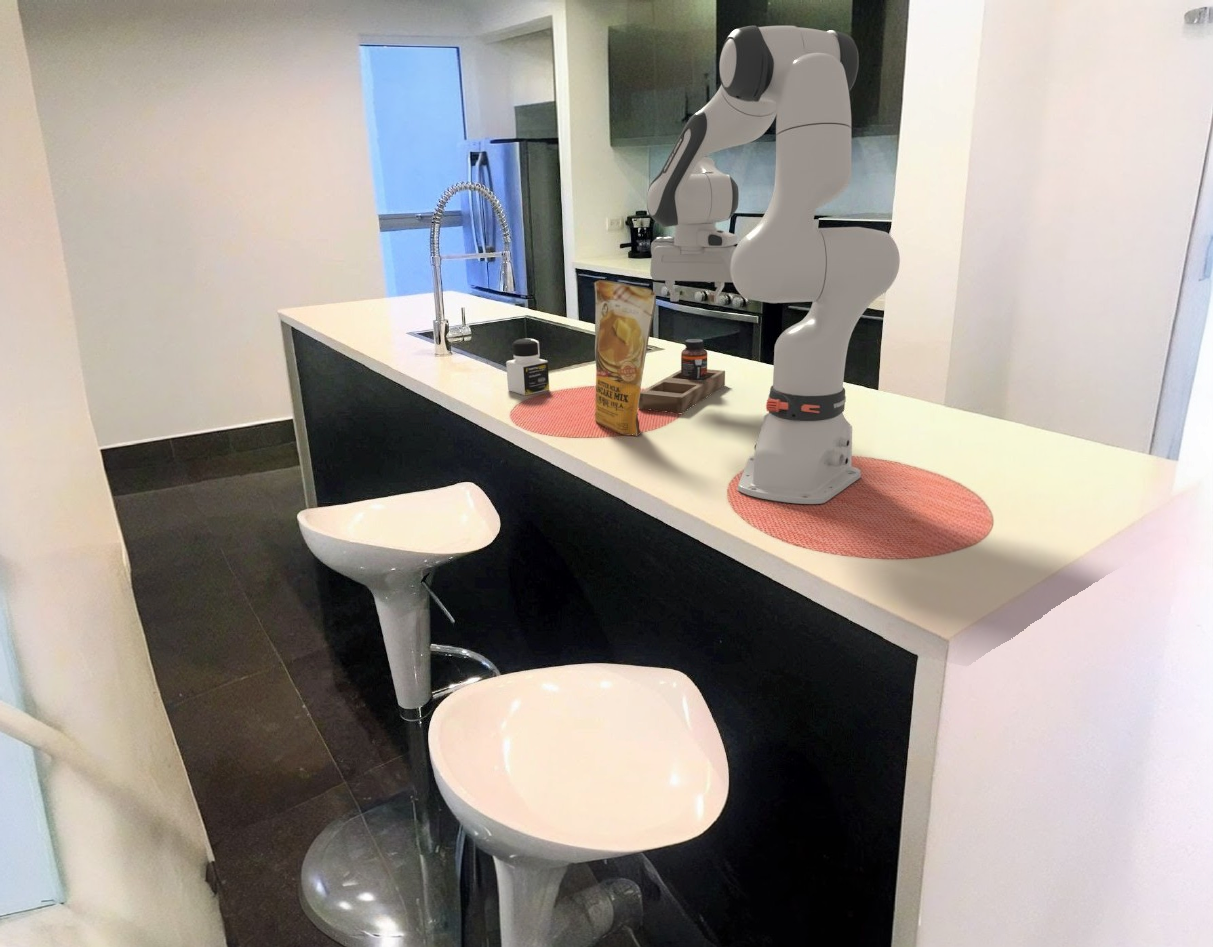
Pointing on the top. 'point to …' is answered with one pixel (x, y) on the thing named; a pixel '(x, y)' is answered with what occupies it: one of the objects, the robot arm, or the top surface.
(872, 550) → the top surface
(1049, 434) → the top surface
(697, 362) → the supplement bottle
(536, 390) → the medicine bottle
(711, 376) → the rail
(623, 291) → the pancake mix bag
